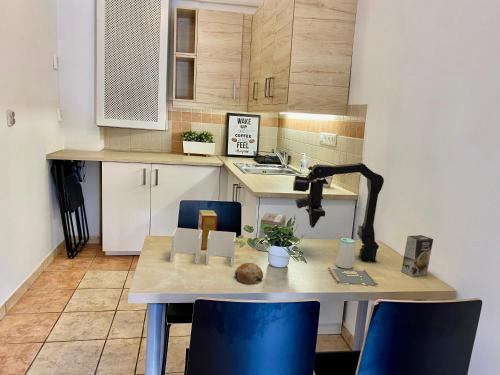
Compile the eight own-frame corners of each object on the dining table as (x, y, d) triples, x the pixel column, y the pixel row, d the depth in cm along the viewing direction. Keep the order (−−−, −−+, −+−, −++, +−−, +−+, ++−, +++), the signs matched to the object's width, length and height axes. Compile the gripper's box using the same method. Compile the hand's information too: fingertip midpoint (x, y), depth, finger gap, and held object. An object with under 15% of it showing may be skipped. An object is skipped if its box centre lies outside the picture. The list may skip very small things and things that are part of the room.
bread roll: (247, 295, 146) (257, 279, 142) (227, 276, 149) (236, 260, 146) (261, 286, 154) (271, 271, 151) (242, 269, 158) (251, 253, 155)
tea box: (278, 253, 182) (282, 222, 179) (256, 250, 183) (259, 218, 181) (282, 244, 196) (286, 214, 193) (262, 241, 198) (265, 211, 195)
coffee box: (412, 277, 168) (419, 240, 165) (400, 271, 173) (406, 235, 171) (427, 275, 172) (434, 239, 169) (415, 269, 178) (421, 234, 175)
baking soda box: (214, 250, 178) (217, 215, 176) (199, 250, 177) (202, 214, 174) (210, 243, 187) (213, 209, 184) (196, 243, 186) (199, 209, 183)
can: (335, 268, 170) (339, 240, 168) (335, 262, 177) (339, 236, 175) (352, 271, 169) (356, 243, 167) (352, 265, 176) (356, 238, 173)
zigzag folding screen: (233, 257, 172) (235, 232, 170) (233, 267, 161) (235, 240, 159) (174, 252, 171) (176, 227, 169) (170, 262, 160) (171, 235, 158)
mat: (365, 272, 169) (366, 269, 169) (377, 286, 155) (378, 283, 155) (328, 269, 168) (328, 266, 168) (336, 283, 154) (337, 280, 154)
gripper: (294, 187, 188) (291, 219, 191) (301, 195, 170) (297, 231, 173) (318, 189, 189) (314, 221, 192) (327, 197, 171) (323, 233, 174)
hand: (311, 226), depth 183 cm, fingers open, 3 cm apart
